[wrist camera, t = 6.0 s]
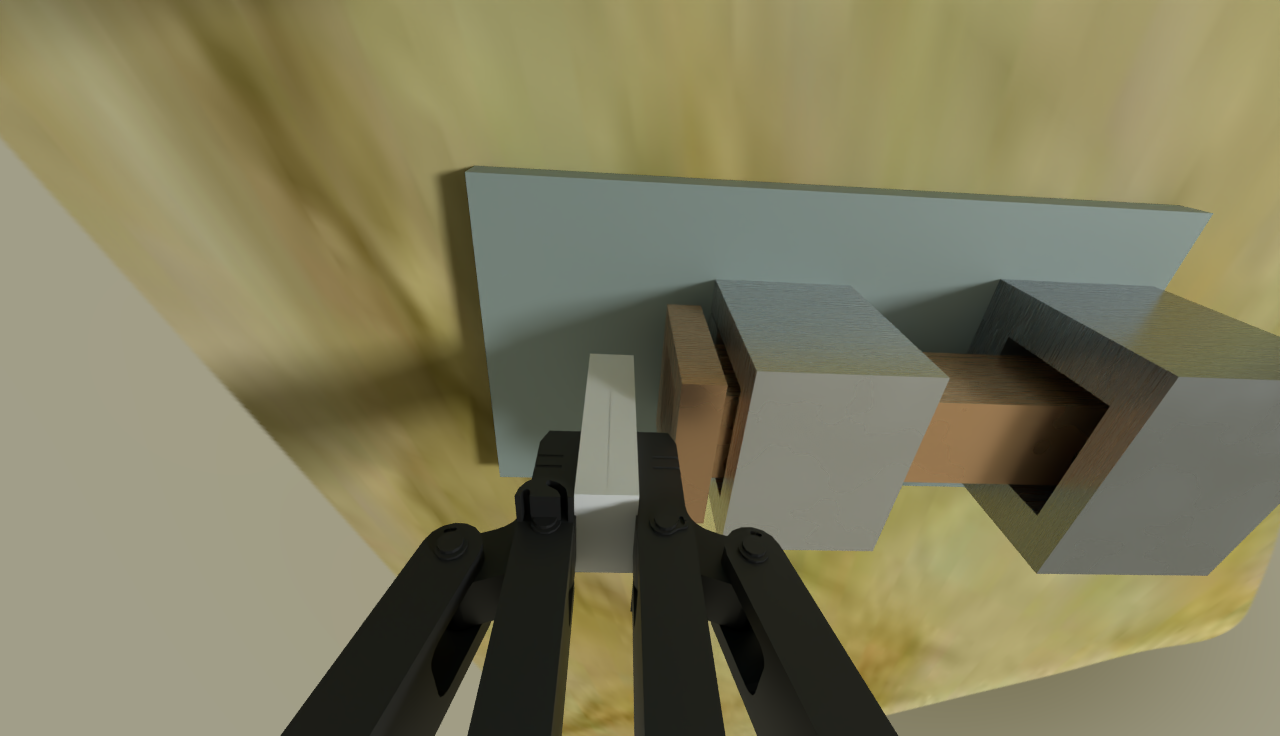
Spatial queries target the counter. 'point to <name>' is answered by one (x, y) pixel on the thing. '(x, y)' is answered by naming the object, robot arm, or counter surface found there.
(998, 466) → the bolt
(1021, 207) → the board
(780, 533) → the sleeve
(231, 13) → the counter surface
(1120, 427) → the socket
